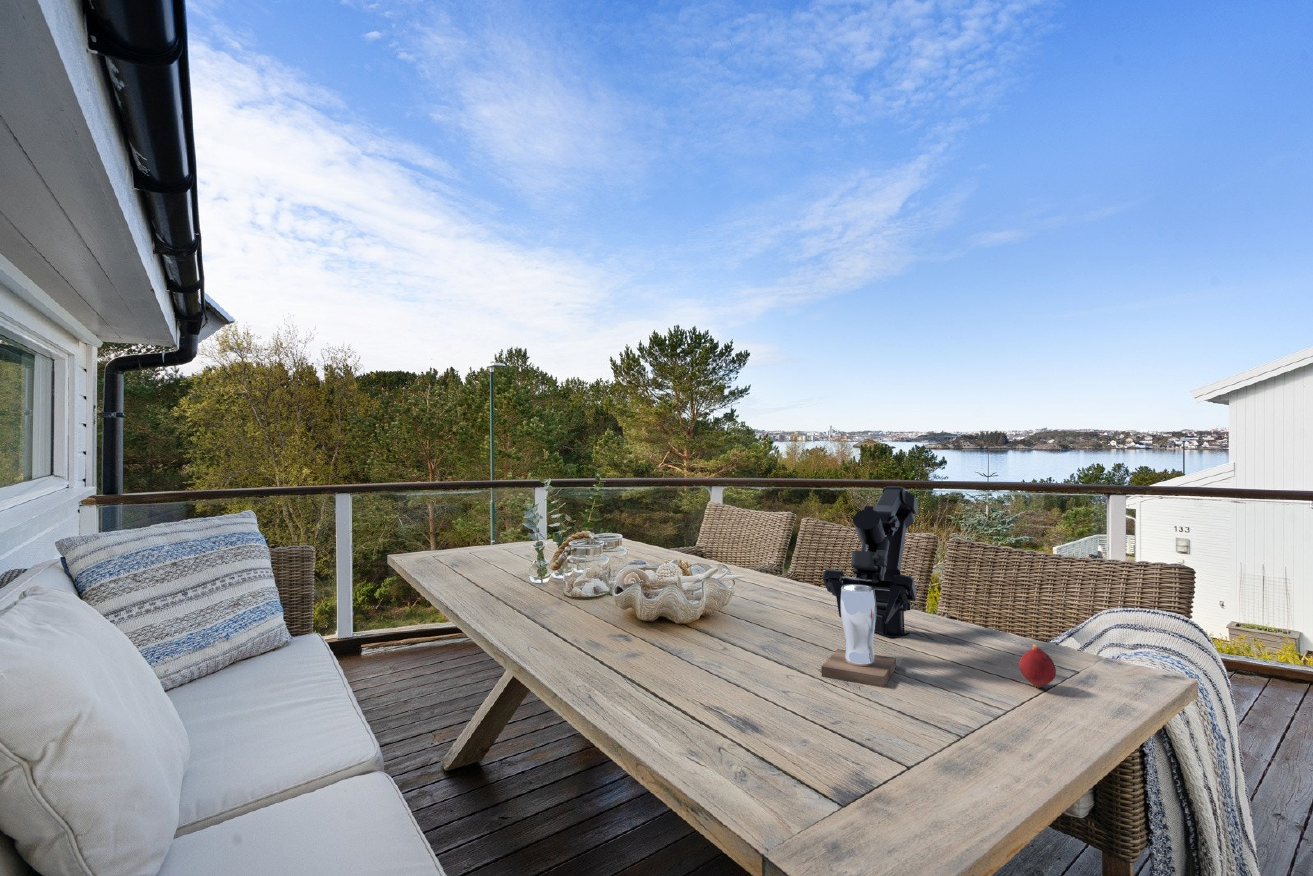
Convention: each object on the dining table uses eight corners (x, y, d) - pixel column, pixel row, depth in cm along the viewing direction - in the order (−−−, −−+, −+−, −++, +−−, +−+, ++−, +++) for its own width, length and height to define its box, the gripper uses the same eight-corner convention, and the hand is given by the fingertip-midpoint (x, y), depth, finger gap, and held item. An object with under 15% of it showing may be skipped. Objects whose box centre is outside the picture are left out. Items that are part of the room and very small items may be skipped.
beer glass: (880, 658, 128) (878, 585, 128) (874, 669, 122) (872, 593, 122) (846, 653, 132) (844, 582, 132) (838, 664, 125) (836, 589, 126)
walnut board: (838, 658, 135) (837, 649, 135) (896, 667, 128) (896, 657, 128) (821, 676, 124) (821, 666, 124) (884, 687, 118) (883, 676, 118)
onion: (1051, 683, 118) (1050, 641, 118) (1060, 695, 113) (1058, 651, 113) (1016, 680, 120) (1015, 638, 120) (1023, 691, 115) (1022, 648, 115)
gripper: (823, 533, 139) (809, 593, 130) (912, 537, 129) (903, 603, 120) (834, 562, 146) (821, 621, 136) (919, 568, 136) (912, 633, 126)
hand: (862, 619), depth 129 cm, fingers open, 9 cm apart
